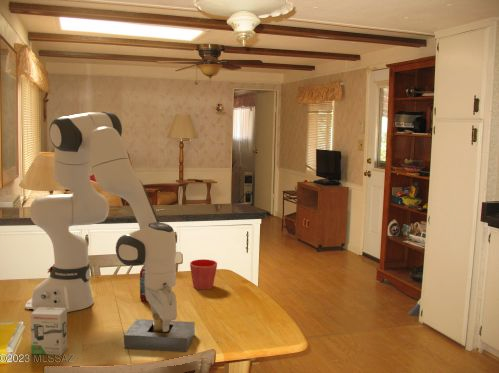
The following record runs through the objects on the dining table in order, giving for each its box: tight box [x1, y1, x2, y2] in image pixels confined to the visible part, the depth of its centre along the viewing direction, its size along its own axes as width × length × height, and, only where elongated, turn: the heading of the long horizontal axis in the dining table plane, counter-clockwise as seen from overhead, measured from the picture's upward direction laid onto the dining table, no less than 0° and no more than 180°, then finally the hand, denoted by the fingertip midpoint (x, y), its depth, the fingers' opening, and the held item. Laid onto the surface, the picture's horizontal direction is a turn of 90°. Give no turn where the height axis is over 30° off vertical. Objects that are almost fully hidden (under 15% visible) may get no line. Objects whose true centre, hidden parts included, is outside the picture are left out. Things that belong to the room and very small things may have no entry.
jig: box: [123, 318, 196, 353], centre depth 149 cm, size 18×12×4 cm, turn 86°
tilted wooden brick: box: [152, 315, 168, 333], centre depth 149 cm, size 4×4×8 cm
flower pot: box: [189, 258, 218, 291], centre depth 200 cm, size 11×11×10 cm
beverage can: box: [139, 265, 148, 302], centre depth 184 cm, size 7×7×12 cm
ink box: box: [30, 307, 68, 356], centre depth 141 cm, size 9×5×12 cm, turn 90°
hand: (160, 324), depth 149 cm, fingers open, 8 cm apart
